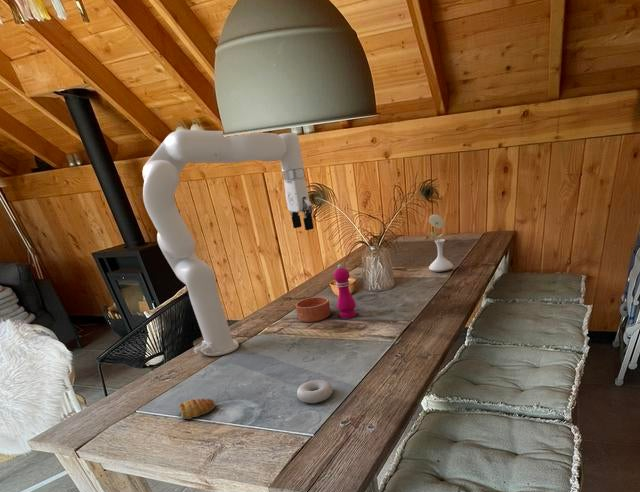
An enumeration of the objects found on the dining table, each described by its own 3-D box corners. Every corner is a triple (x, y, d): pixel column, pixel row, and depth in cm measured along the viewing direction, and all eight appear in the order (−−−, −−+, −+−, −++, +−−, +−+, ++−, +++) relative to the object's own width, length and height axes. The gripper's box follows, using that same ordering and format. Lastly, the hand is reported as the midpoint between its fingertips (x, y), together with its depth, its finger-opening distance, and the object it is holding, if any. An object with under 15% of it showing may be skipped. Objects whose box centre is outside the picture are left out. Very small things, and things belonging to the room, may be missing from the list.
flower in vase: (457, 269, 223) (456, 212, 209) (438, 275, 218) (436, 217, 204) (440, 265, 232) (438, 211, 219) (422, 270, 228) (418, 215, 214)
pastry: (213, 401, 134) (208, 390, 132) (218, 411, 129) (213, 399, 127) (179, 412, 131) (175, 401, 129) (183, 422, 126) (178, 410, 124)
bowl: (314, 324, 180) (311, 309, 177) (291, 320, 187) (288, 305, 184) (337, 313, 188) (335, 298, 185) (315, 309, 196) (312, 295, 192)
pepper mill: (356, 318, 181) (348, 265, 170) (338, 320, 181) (329, 267, 170) (357, 311, 187) (350, 260, 176) (339, 313, 187) (331, 262, 176)
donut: (303, 389, 135) (293, 406, 126) (301, 378, 133) (291, 394, 125) (337, 387, 133) (328, 404, 125) (335, 377, 131) (326, 393, 123)
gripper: (273, 177, 164) (284, 228, 174) (294, 176, 152) (305, 232, 161) (292, 174, 168) (302, 224, 177) (315, 173, 155) (323, 228, 165)
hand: (303, 228), depth 169 cm, fingers open, 9 cm apart
